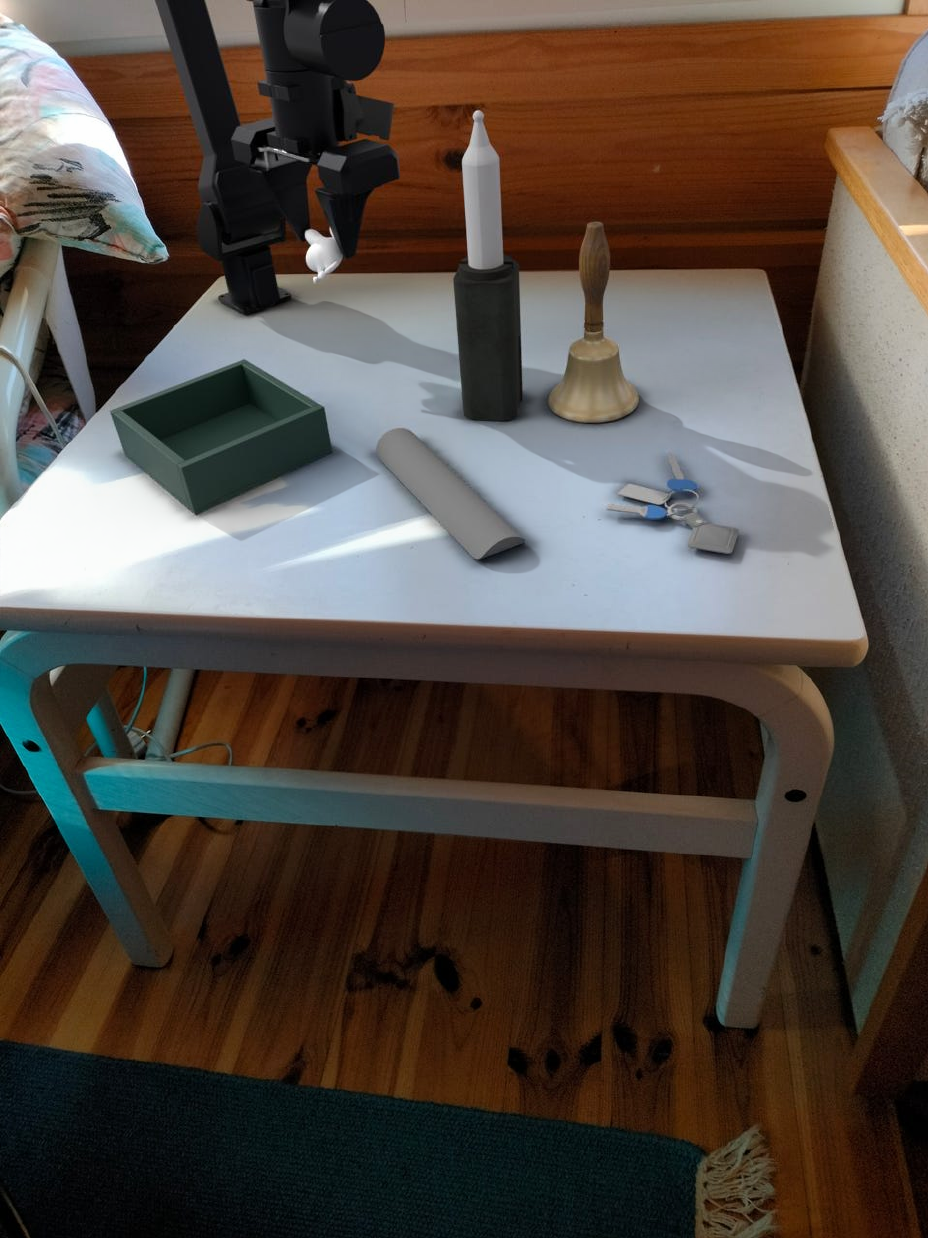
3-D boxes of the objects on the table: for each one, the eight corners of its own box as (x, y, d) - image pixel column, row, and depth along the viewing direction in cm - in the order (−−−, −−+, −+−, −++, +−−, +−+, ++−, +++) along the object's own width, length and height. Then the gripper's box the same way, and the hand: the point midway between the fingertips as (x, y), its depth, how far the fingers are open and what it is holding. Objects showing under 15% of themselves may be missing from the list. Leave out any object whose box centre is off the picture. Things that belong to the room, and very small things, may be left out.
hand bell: (533, 414, 88) (529, 236, 77) (569, 374, 93) (570, 203, 83) (619, 430, 84) (627, 247, 74) (651, 389, 90) (663, 212, 80)
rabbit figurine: (289, 285, 90) (294, 220, 93) (320, 307, 93) (324, 243, 96) (333, 255, 87) (336, 188, 90) (364, 278, 90) (366, 212, 93)
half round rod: (481, 567, 71) (479, 548, 70) (373, 453, 84) (370, 435, 83) (530, 548, 72) (530, 529, 71) (416, 439, 86) (414, 421, 84)
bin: (124, 455, 87) (109, 410, 84) (254, 402, 93) (244, 358, 90) (195, 515, 79) (181, 467, 76) (332, 452, 85) (324, 406, 82)
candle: (516, 421, 87) (505, 118, 71) (461, 419, 88) (437, 119, 72) (524, 394, 91) (516, 101, 74) (471, 393, 92) (452, 102, 75)
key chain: (753, 552, 70) (754, 543, 69) (647, 576, 69) (648, 566, 68) (672, 458, 80) (673, 449, 80) (579, 477, 79) (579, 468, 78)
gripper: (439, 57, 80) (453, 246, 91) (313, 37, 92) (338, 207, 102) (331, 85, 75) (359, 282, 85) (211, 60, 86) (248, 237, 96)
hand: (327, 248), depth 92 cm, fingers closed on rabbit figurine, 7 cm apart
